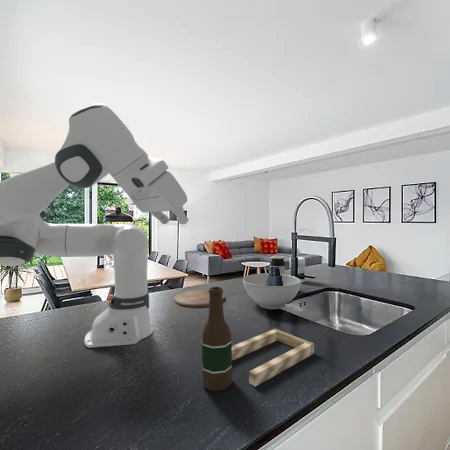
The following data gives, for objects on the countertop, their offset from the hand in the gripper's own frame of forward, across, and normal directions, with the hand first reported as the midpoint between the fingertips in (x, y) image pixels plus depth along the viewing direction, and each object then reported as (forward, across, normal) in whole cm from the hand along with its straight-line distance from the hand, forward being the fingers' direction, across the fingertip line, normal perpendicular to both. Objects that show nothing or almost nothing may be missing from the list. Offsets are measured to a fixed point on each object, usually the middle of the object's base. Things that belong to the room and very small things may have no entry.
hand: (175, 222), depth 67 cm
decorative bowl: (+72, -30, +24) cm, 82 cm away
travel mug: (+88, -48, +43) cm, 109 cm away
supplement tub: (+102, -52, +60) cm, 129 cm away
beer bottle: (+37, +4, -20) cm, 42 cm away
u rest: (+48, +3, -6) cm, 49 cm away
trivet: (+59, -59, +7) cm, 83 cm away
